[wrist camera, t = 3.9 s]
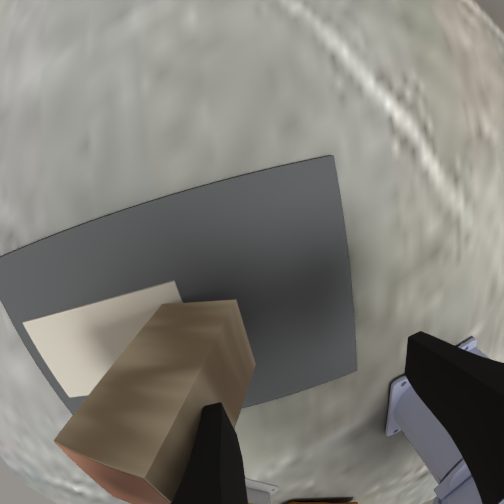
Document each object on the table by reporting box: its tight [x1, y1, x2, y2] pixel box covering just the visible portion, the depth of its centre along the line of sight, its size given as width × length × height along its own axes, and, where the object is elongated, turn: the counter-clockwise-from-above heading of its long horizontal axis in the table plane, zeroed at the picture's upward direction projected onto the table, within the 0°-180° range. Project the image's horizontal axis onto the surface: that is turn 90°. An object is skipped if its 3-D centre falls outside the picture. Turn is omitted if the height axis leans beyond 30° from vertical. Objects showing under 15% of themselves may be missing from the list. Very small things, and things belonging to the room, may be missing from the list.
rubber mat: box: [0, 155, 357, 415], centre depth 16 cm, size 20×14×1 cm
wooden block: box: [54, 299, 256, 504], centre depth 11 cm, size 4×4×9 cm
